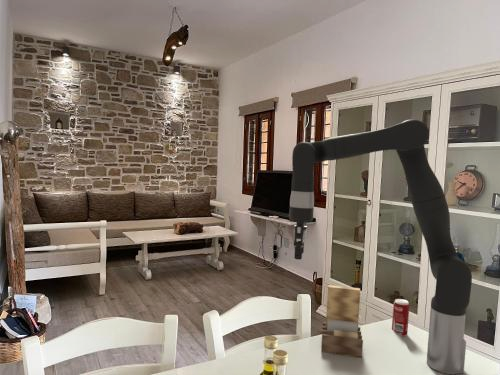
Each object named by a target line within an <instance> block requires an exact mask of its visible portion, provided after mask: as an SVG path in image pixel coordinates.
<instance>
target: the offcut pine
mask: <svg viewBox="0 0 500 375" xmlns="http://www.w3.org/2000/svg"><path fill="white" fill-rule="evenodd" d="M334 336H340V337H347V338H354V339H358V334H357V333H355V332H348V331H340V330H334Z"/></svg>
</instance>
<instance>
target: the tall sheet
mask: <svg viewBox="0 0 500 375" xmlns="http://www.w3.org/2000/svg"><path fill="white" fill-rule="evenodd" d="M326 297H327V299H326V315H325V323H326V327H327V326H328V319H333V320H341V321H349V322H356V323H357V331H358V327H359V321H360V320H359V318H360V302H361V301H360V300H361V288H359V287H351V286H350V287H348V286H341V285H340V286H339V285H330V284H328V285H327V296H326Z"/></svg>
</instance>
